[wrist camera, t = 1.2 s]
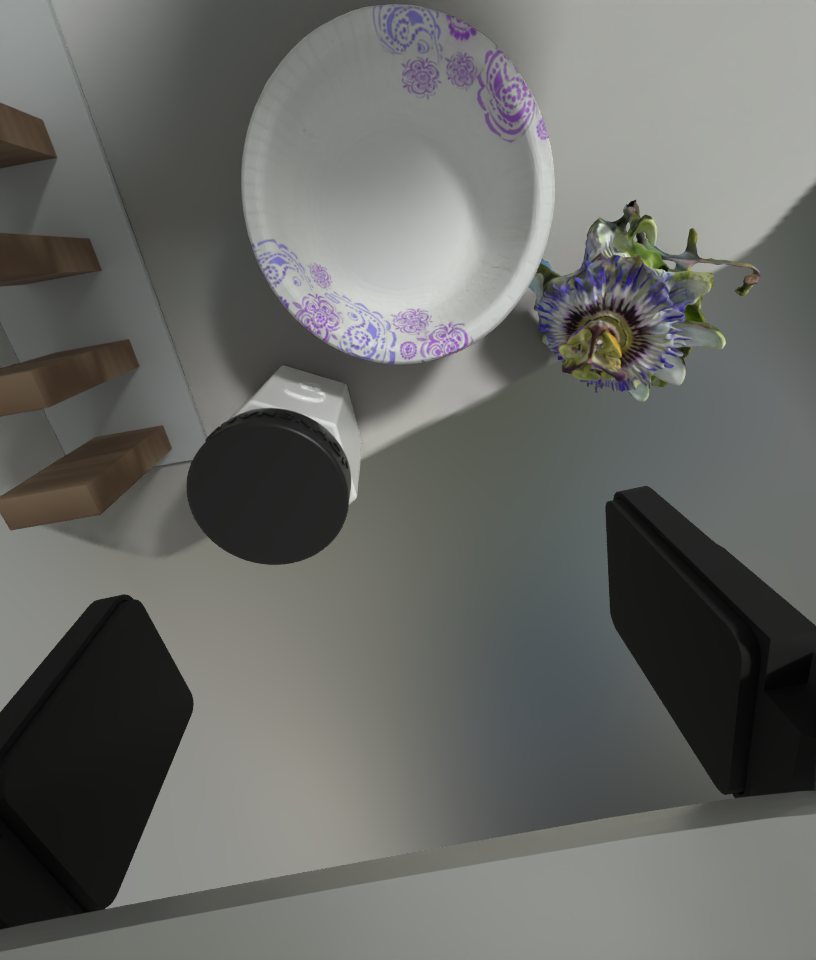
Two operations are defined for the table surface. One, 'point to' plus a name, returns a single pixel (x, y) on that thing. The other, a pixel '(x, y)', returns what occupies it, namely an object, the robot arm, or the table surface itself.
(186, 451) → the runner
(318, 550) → the jar
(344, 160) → the paper bowls
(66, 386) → the tile
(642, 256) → the passion flower
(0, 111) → the tile
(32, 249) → the tile
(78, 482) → the tile
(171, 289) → the table surface
